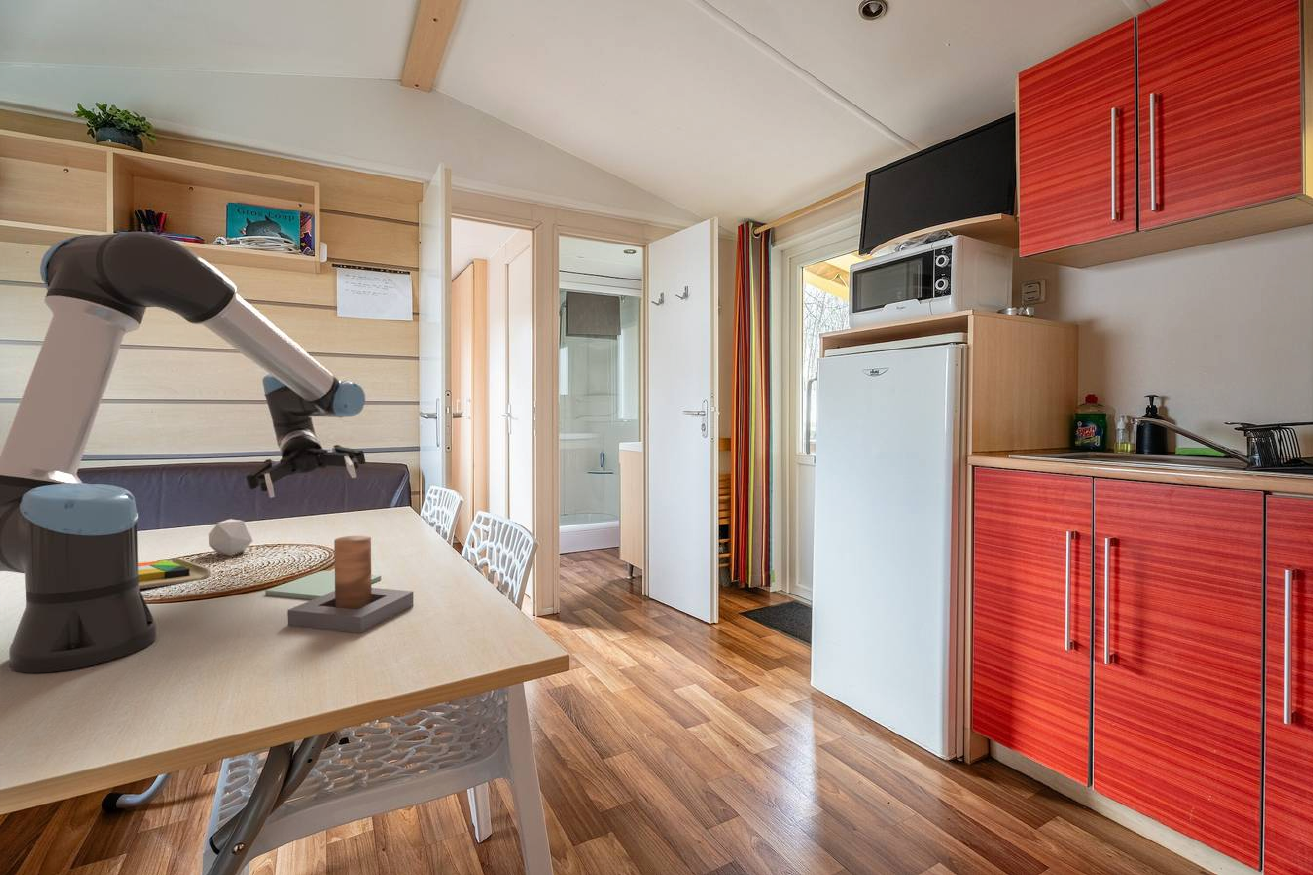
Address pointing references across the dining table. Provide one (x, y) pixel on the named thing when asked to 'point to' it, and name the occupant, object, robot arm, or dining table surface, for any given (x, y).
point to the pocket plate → (350, 611)
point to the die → (230, 537)
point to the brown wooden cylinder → (352, 572)
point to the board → (310, 586)
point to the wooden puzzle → (170, 572)
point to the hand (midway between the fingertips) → (313, 480)
